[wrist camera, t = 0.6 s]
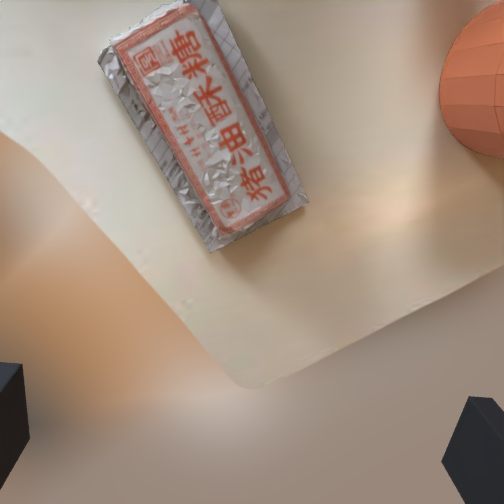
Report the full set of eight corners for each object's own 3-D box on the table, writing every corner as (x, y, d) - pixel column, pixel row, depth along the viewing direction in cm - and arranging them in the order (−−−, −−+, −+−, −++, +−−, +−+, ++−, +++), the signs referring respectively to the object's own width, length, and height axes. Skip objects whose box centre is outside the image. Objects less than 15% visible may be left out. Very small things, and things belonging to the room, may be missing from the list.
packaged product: (74, 48, 26) (207, -31, 25) (97, 55, 31) (211, -11, 29) (208, 269, 32) (319, 215, 31) (210, 248, 37) (308, 200, 36)
